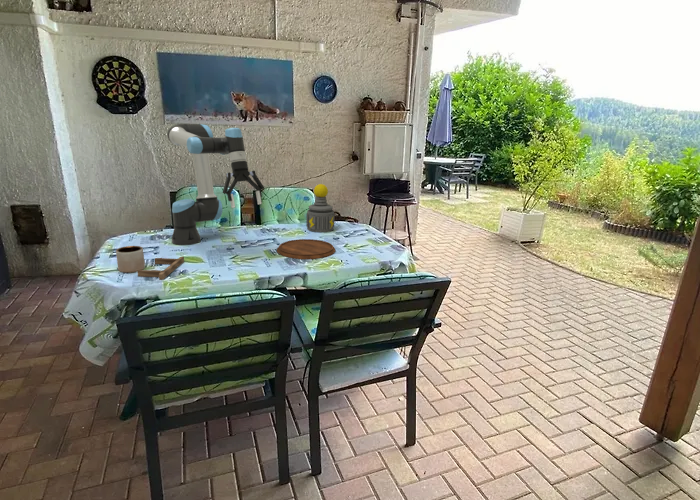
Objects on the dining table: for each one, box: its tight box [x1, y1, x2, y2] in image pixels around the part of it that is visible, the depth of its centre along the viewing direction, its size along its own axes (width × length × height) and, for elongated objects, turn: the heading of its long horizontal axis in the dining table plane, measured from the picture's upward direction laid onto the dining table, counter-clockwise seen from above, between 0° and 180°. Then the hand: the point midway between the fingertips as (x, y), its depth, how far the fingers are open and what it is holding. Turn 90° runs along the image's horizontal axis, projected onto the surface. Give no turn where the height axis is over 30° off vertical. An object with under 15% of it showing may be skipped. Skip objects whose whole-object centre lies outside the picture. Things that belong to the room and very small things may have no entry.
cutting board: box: [276, 238, 336, 260], centre depth 219 cm, size 32×32×2 cm
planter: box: [115, 245, 146, 274], centre depth 180 cm, size 11×11×10 cm
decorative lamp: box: [305, 183, 336, 233], centre depth 260 cm, size 19×19×30 cm
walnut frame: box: [136, 256, 185, 281], centre depth 181 cm, size 24×12×2 cm, turn 1°
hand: (246, 206), depth 192 cm, fingers open, 13 cm apart
